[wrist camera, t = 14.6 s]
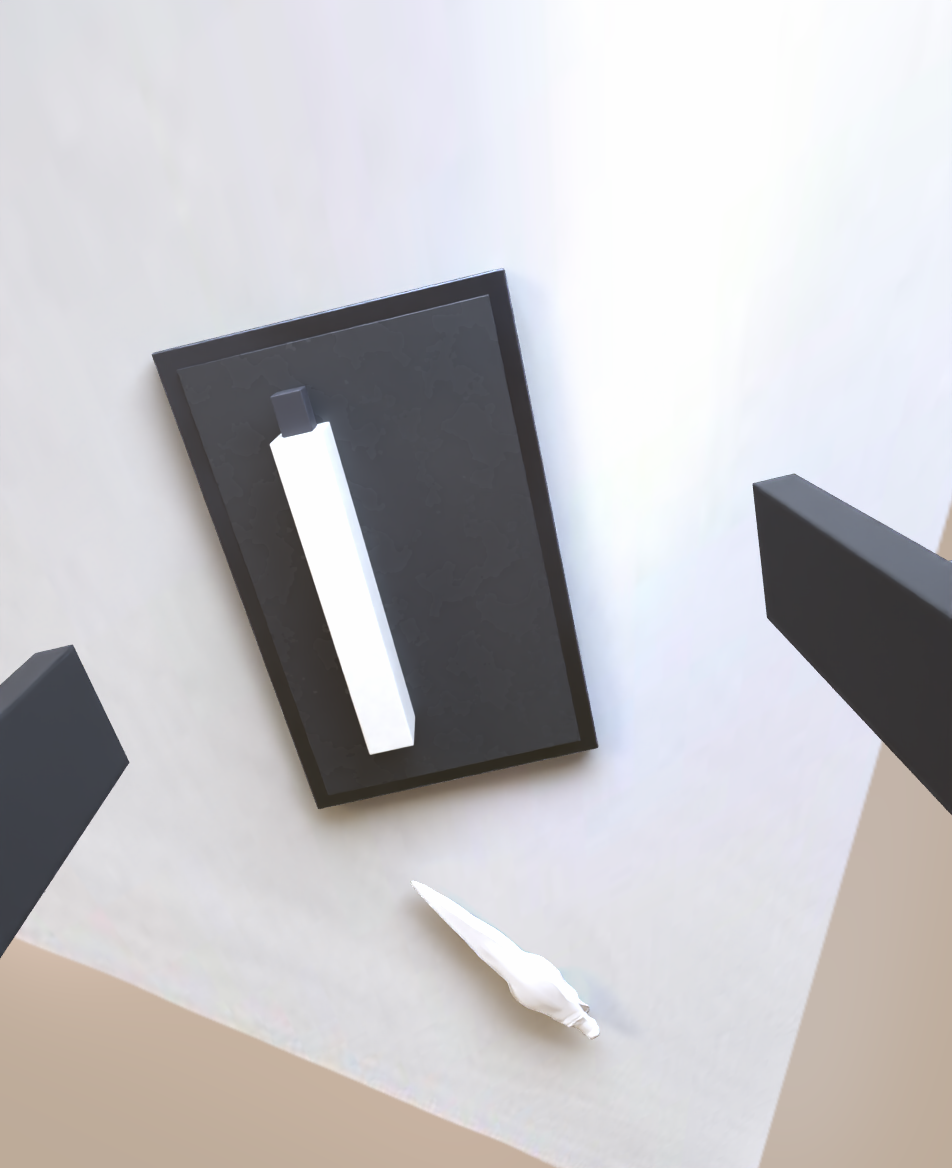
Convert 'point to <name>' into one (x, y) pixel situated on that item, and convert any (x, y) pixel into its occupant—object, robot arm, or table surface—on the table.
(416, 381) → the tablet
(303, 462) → the white rectangular bar
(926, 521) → the table surface
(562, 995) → the white tapered piece
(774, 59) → the table surface
